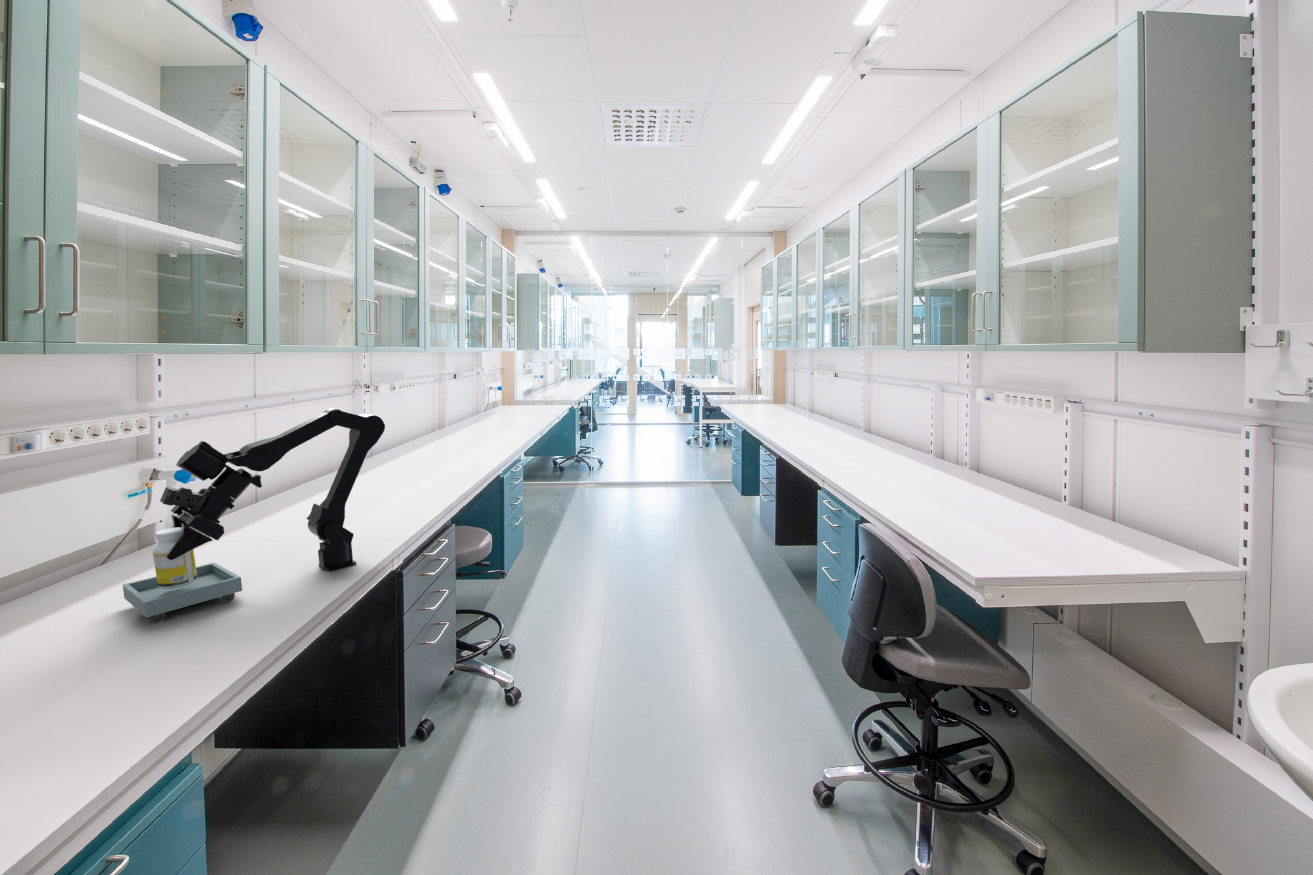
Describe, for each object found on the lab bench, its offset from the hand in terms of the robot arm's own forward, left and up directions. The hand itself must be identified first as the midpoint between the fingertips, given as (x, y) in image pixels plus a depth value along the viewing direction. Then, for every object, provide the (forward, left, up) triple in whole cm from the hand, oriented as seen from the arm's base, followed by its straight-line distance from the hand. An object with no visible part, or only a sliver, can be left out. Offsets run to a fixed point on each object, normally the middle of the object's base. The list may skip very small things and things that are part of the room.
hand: (165, 555), depth 121 cm
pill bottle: (-1, 0, -7) cm, 7 cm away
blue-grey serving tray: (-2, 0, -11) cm, 11 cm away
